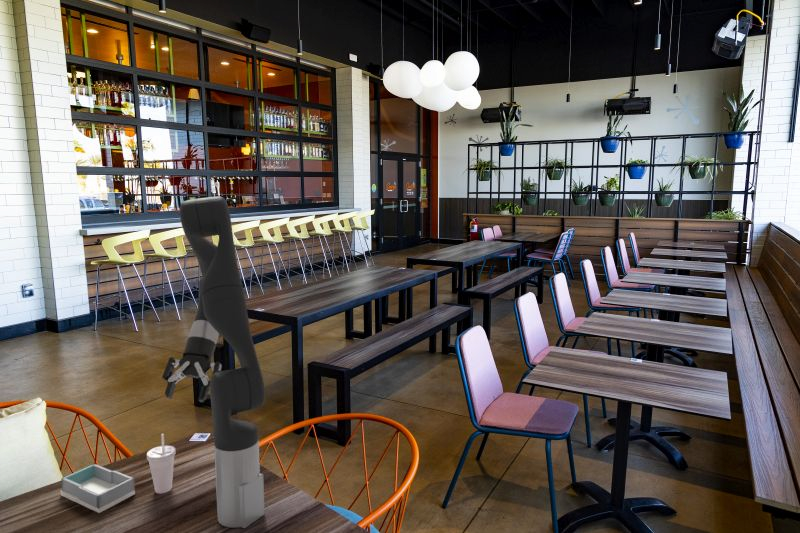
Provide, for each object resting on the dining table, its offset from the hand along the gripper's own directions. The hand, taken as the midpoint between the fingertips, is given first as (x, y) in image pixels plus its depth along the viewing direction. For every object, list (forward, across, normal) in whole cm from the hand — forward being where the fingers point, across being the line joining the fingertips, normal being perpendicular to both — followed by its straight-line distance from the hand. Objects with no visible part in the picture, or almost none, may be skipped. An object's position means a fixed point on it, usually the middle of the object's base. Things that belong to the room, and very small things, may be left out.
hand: (184, 399), depth 138 cm
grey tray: (+24, -14, 0) cm, 28 cm away
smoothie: (+21, 0, +2) cm, 22 cm away
